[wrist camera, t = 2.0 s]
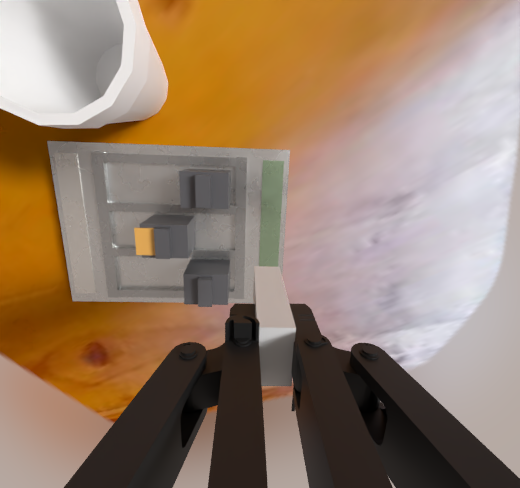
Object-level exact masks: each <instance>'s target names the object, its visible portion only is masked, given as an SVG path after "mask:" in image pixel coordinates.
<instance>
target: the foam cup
mask: <svg viewBox="0 0 520 488" xmlns="http://www.w3.org/2000/svg"><path fill="white" fill-rule="evenodd" d="M167 89H168V80H167V77H166V74H165V71H164V67H163V65H162V62H161V60H160V57H159V55H158V53H157V51H156V48H155V46H154V44H153V42H152V40H151V37H150V35H149V33H148V31H147V28H146V26H145V23H144V19H143V16H142V13H141V10H140V6H139V3H138V0H0V108H1V109H3V110H5V111H8V112H10V113H12V114H14V115H17V116H19V117H21V118H23V119H26V120H28V121H30V122H32V123H35V124H37V125H40V126H48V127H55V128H63V129H73V128H100V127H102V126H104V125H105V124H110V123H120V122H129V121H139V120H145V119H147V118H149V117H151V116H153V115H154V114H156V113H158V112H159V110H160V109H161V107H162V106H163V104H164V102H165V101H166V98H167Z"/></svg>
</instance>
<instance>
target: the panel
mask: <svg viewBox="0 0 520 488" xmlns="http://www.w3.org/2000/svg"><path fill="white" fill-rule="evenodd" d="M47 144H48V150H49V156H50V163H51V169H52V175H53V181H54V188H55V194H56V200H57V206H58V213H59V219H60V225H61V231H62V238H63V244H64V250H65V257H66V263H67V269H68V275H69V282H70V288H71V294H72V300H73V301H98V302H184V281H183V274H184V272H185V270H186V268H187V266H188V264H189V262H190V260H191V259H215V260H230V290H229V299H228V303H253V288H254V266H268V267H280V271H281V275H282V270H283V254H284V238H285V221H286V205H287V189H288V173H289V157H290V150H272V149H246V148H220V147H194V146H168V145H142V144H117V143H91V142H65V141H47ZM185 169H213V170H231V202H230V206H229V209H205V208H181V207H180V182H179V171H181V170H185ZM152 215H177V216H195V243H196V245H195V247H194V249H193V251H192V253H191V254H190V256H189V258H170V259H156V258H142V255H136V244H135V233H134V228H140V225H139V224H140V223H142V222H143V221H145V220H146V219H148V218H149V217H151V216H152Z"/></svg>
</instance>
